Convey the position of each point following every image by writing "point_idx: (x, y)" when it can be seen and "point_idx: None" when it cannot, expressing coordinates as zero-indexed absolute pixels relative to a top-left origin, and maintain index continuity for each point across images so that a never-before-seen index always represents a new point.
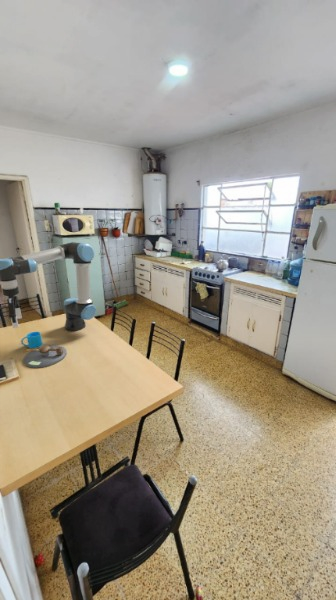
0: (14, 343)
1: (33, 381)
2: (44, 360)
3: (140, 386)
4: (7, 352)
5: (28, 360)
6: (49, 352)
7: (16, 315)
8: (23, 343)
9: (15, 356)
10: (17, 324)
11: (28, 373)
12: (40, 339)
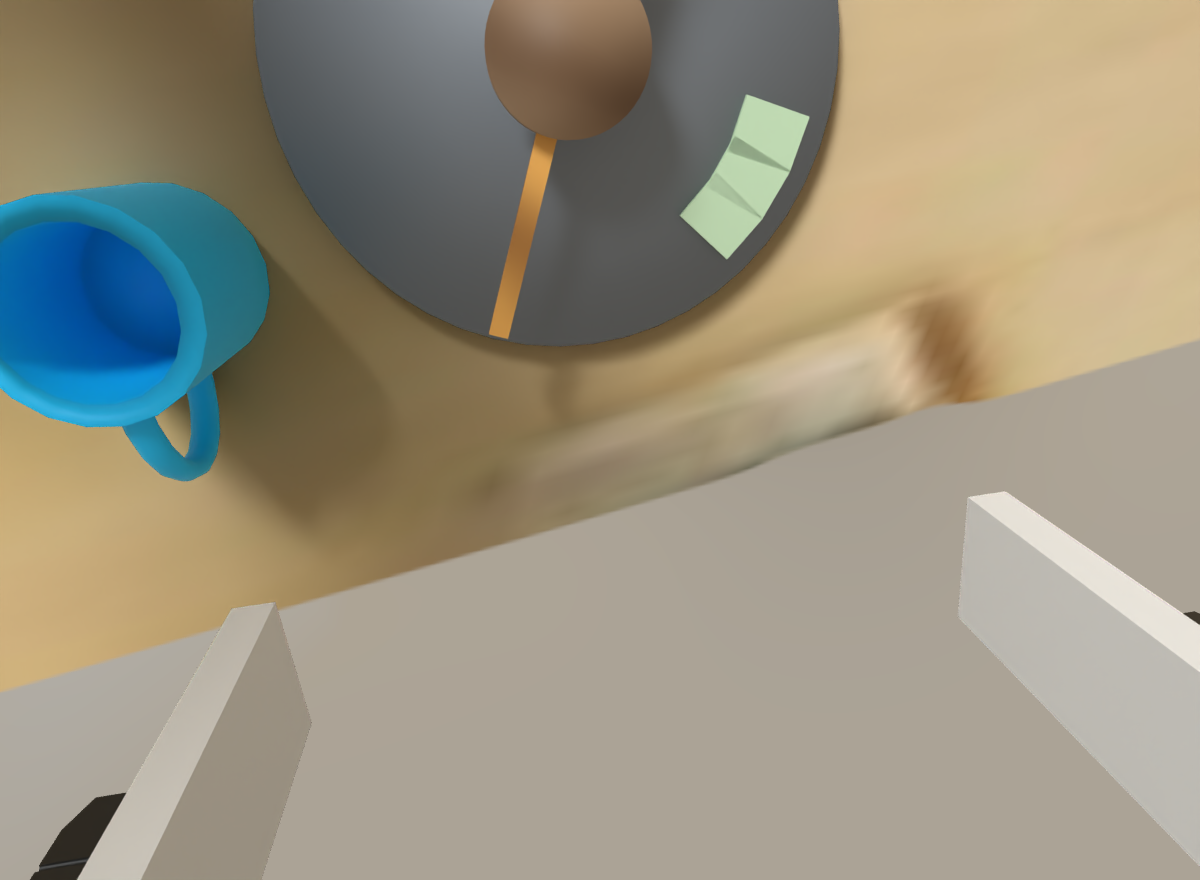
0: (86, 569)
1: (1070, 130)
2: (714, 54)
3: None
4: (331, 575)
5: (646, 274)
6: None
7: (279, 802)
8: (200, 440)
9: (454, 460)
10: (1068, 549)
11: (890, 220)
12: (142, 193)
